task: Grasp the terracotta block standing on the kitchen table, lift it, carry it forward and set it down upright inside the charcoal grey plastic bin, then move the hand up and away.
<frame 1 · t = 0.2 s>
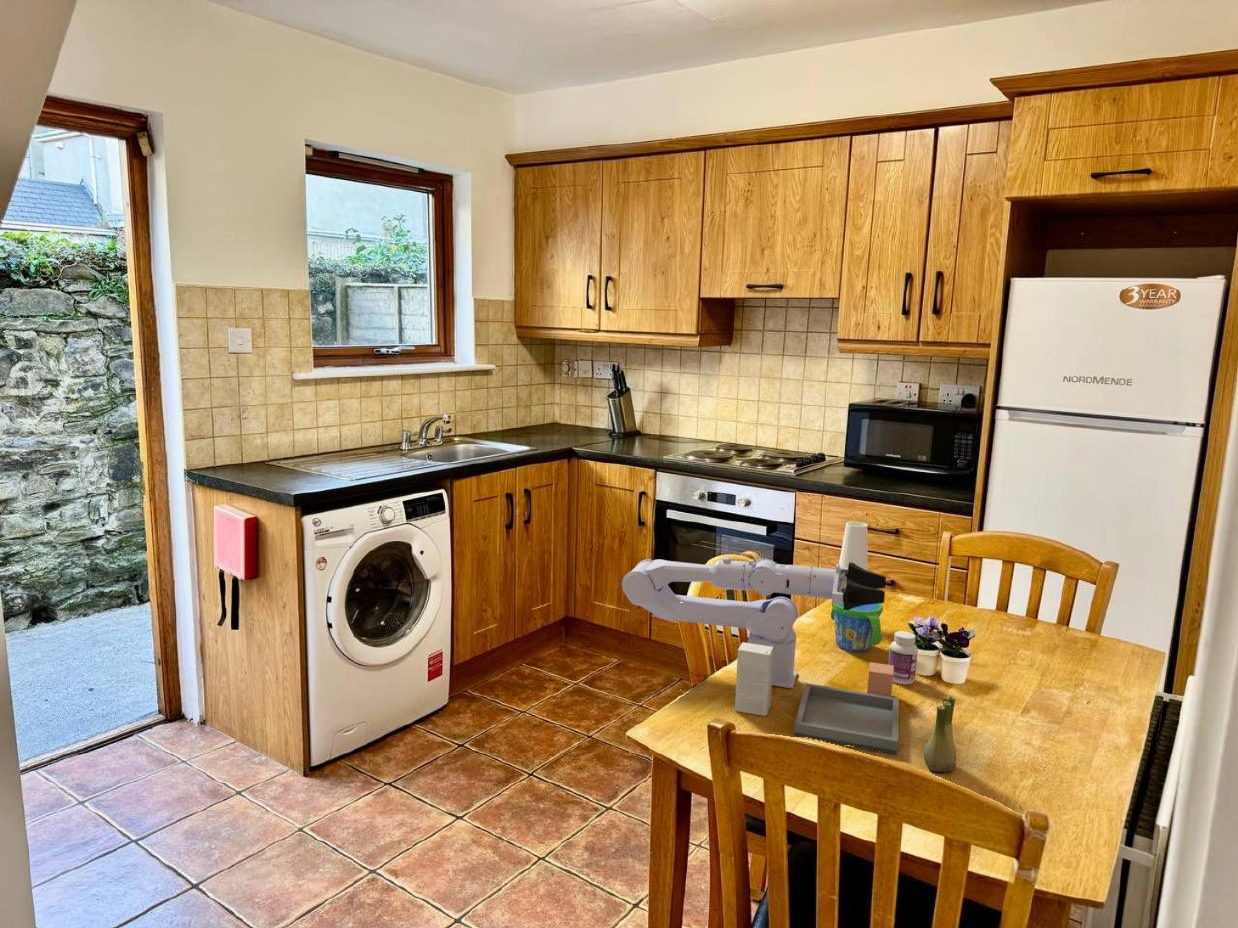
hand: (885, 589, 161), 21 cm above the table, tool horizontal, fingers open, 7 cm apart
terracotta block: (878, 697, 164), on the table
grey bin: (847, 723, 154), on the table
skincare box: (752, 710, 158), on the table
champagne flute: (848, 622, 203), on the table
fennel bulb: (938, 768, 140), on the table
snack cup: (853, 647, 188), on the table
pill bottle: (900, 680, 172), on the table
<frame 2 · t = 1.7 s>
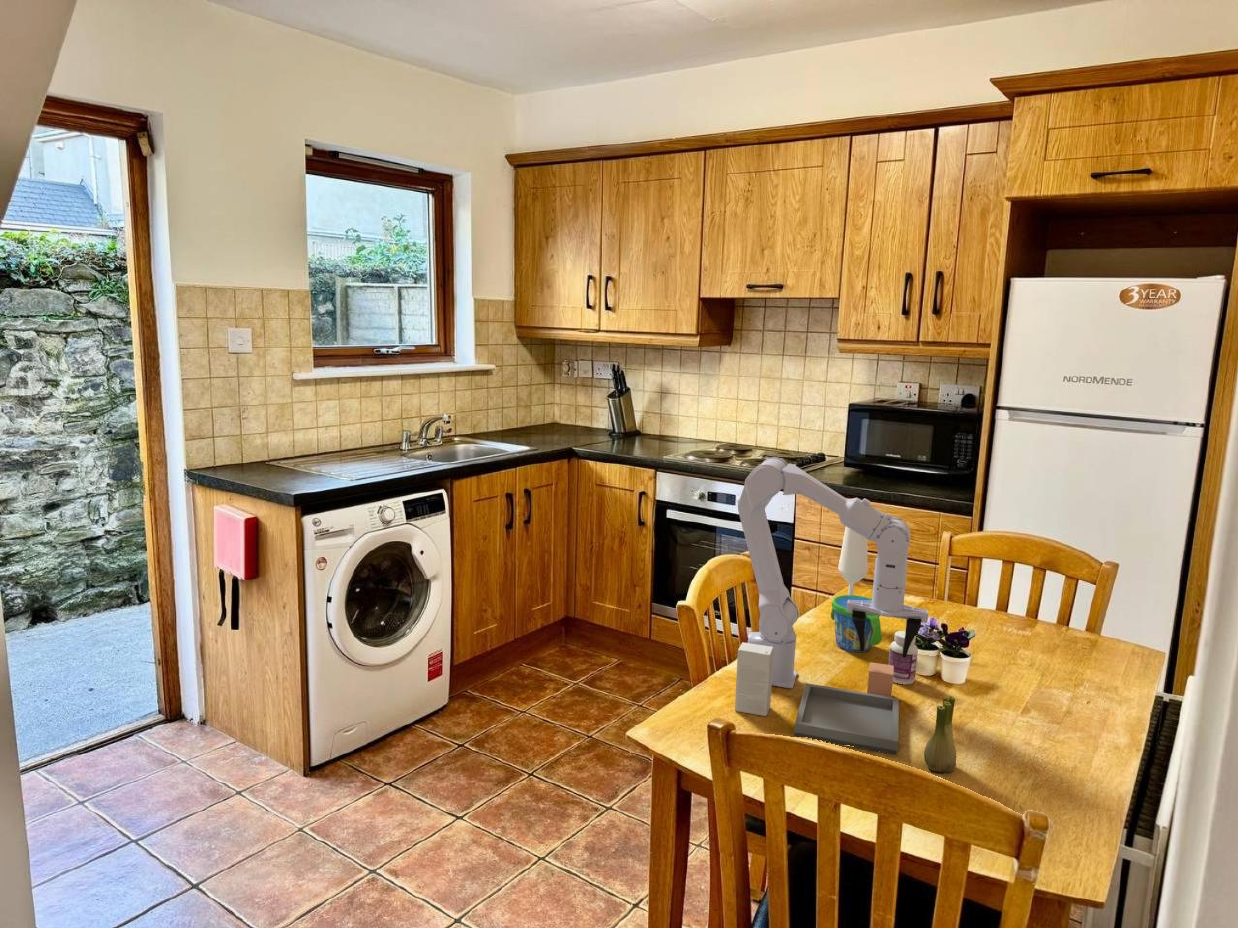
hand: (883, 652, 162), 9 cm above the table, tool pointing down, fingers open, 7 cm apart
nothing on the table moved.
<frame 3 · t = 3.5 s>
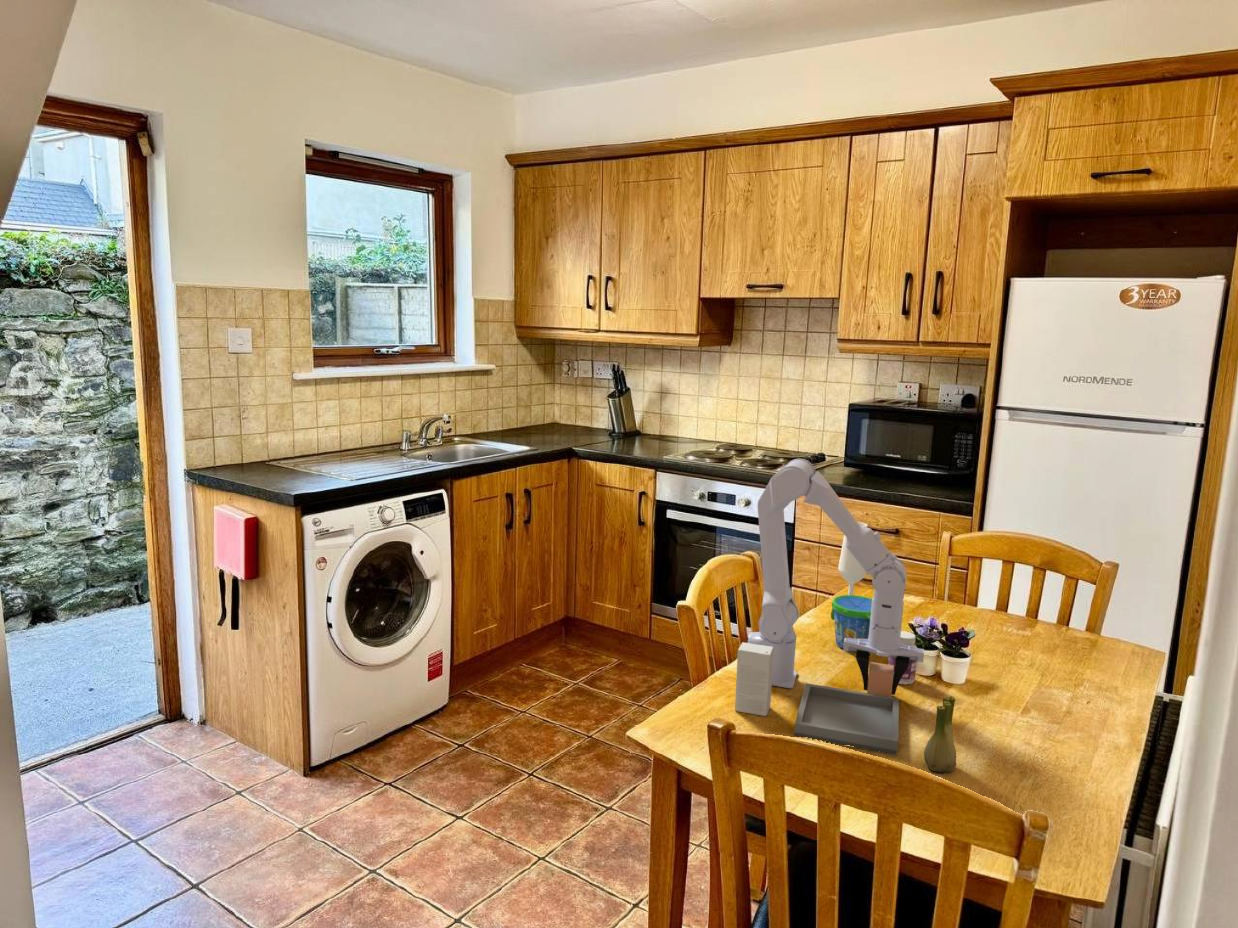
hand: (879, 690, 164), 1 cm above the table, tool pointing down, fingers closed on terracotta block, 4 cm apart
terracotta block: (878, 697, 164), on the table, touching gripper
everything else where it was.
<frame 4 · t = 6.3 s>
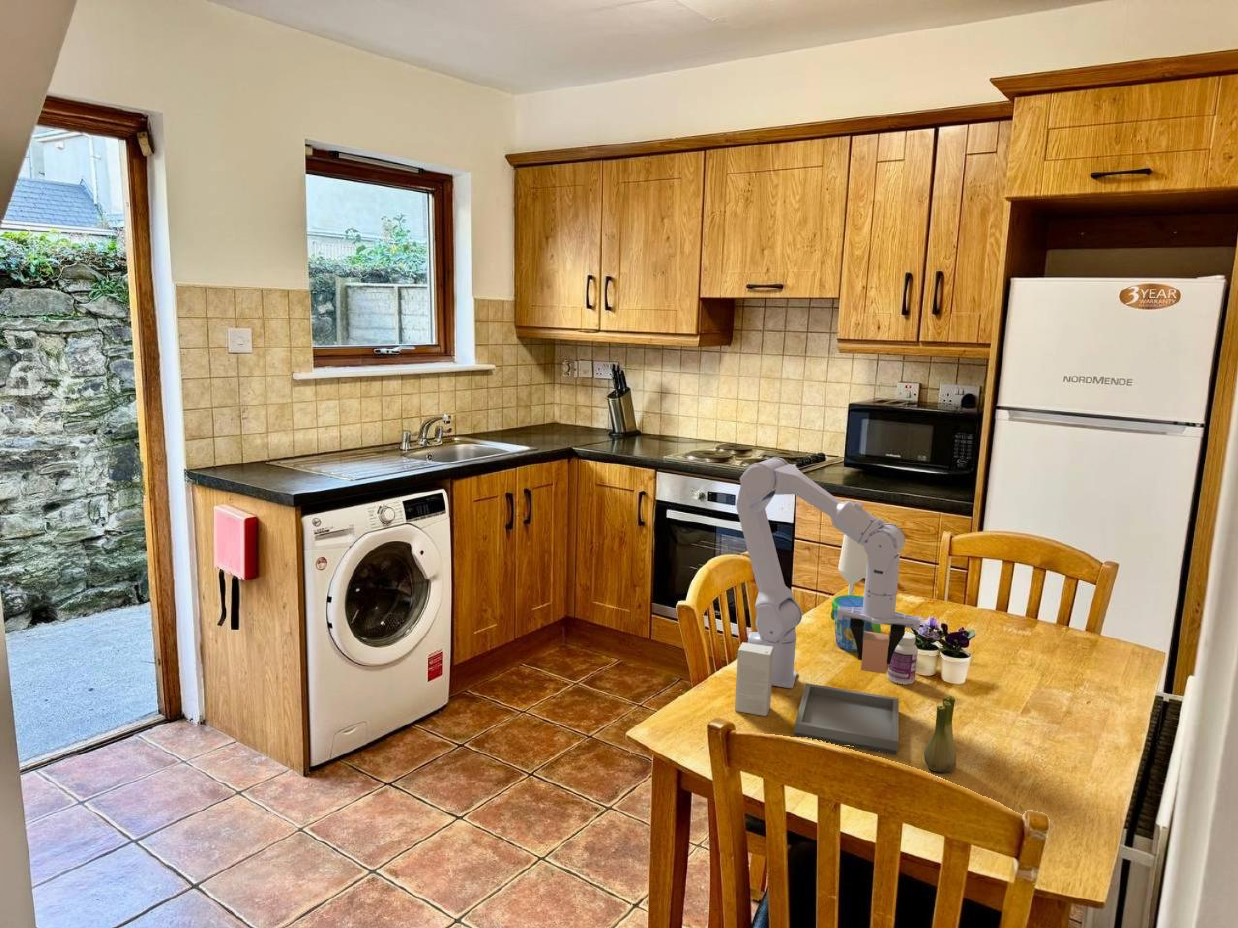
hand: (874, 660, 159), 9 cm above the table, tool pointing down, fingers closed on terracotta block, 4 cm apart
terracotta block: (873, 667, 160), point 7 cm above the table, touching gripper
everything else where it was.
when the fingers open (4 cm above the table, at t = 9.3 s): terracotta block drops 1 cm, resting on grey bin.
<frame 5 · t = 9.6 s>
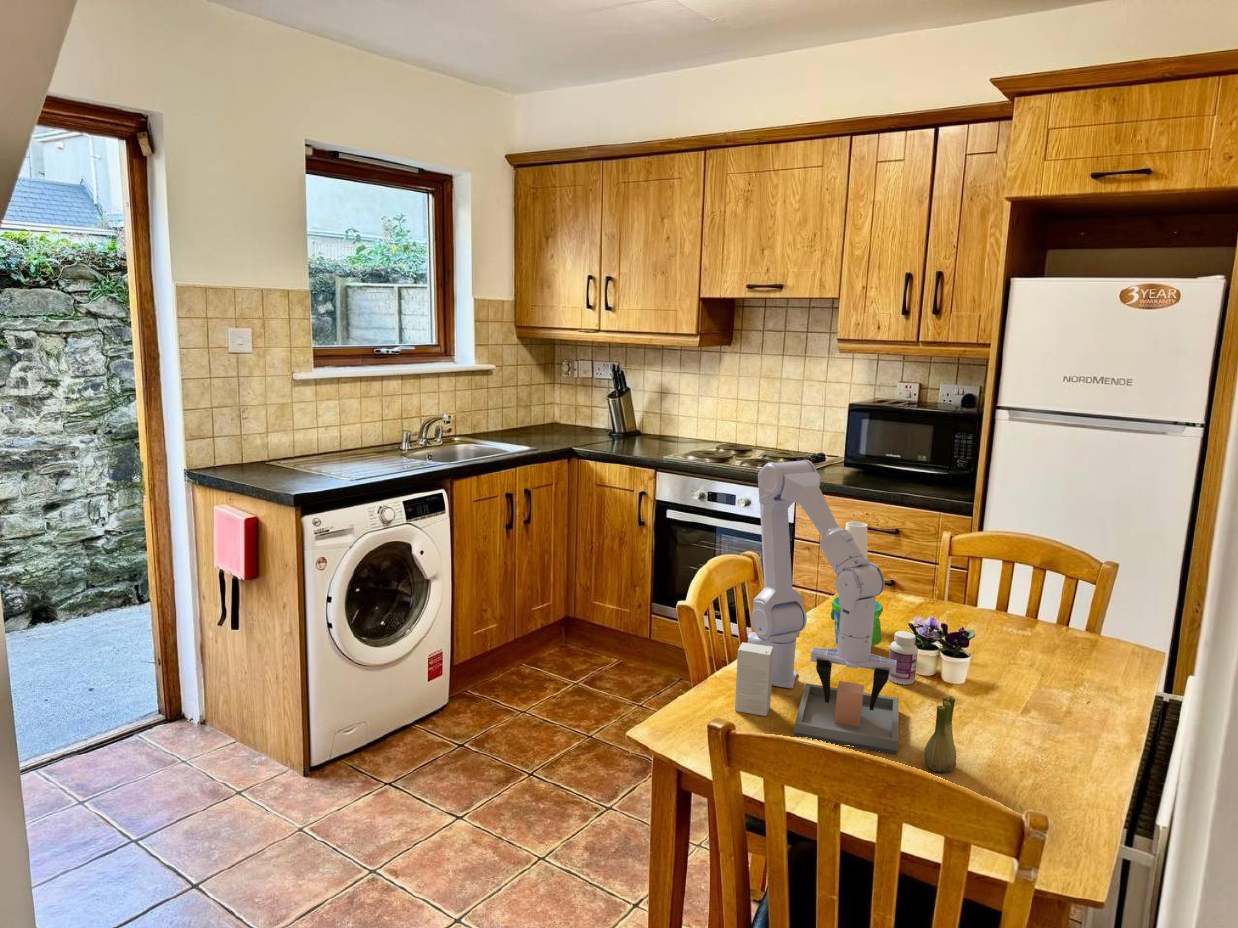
hand: (849, 703, 153), 4 cm above the table, tool pointing down, fingers open, 7 cm apart
terracotta block: (848, 718, 153), point 1 cm above the table, touching grey bin
everything else where it was.
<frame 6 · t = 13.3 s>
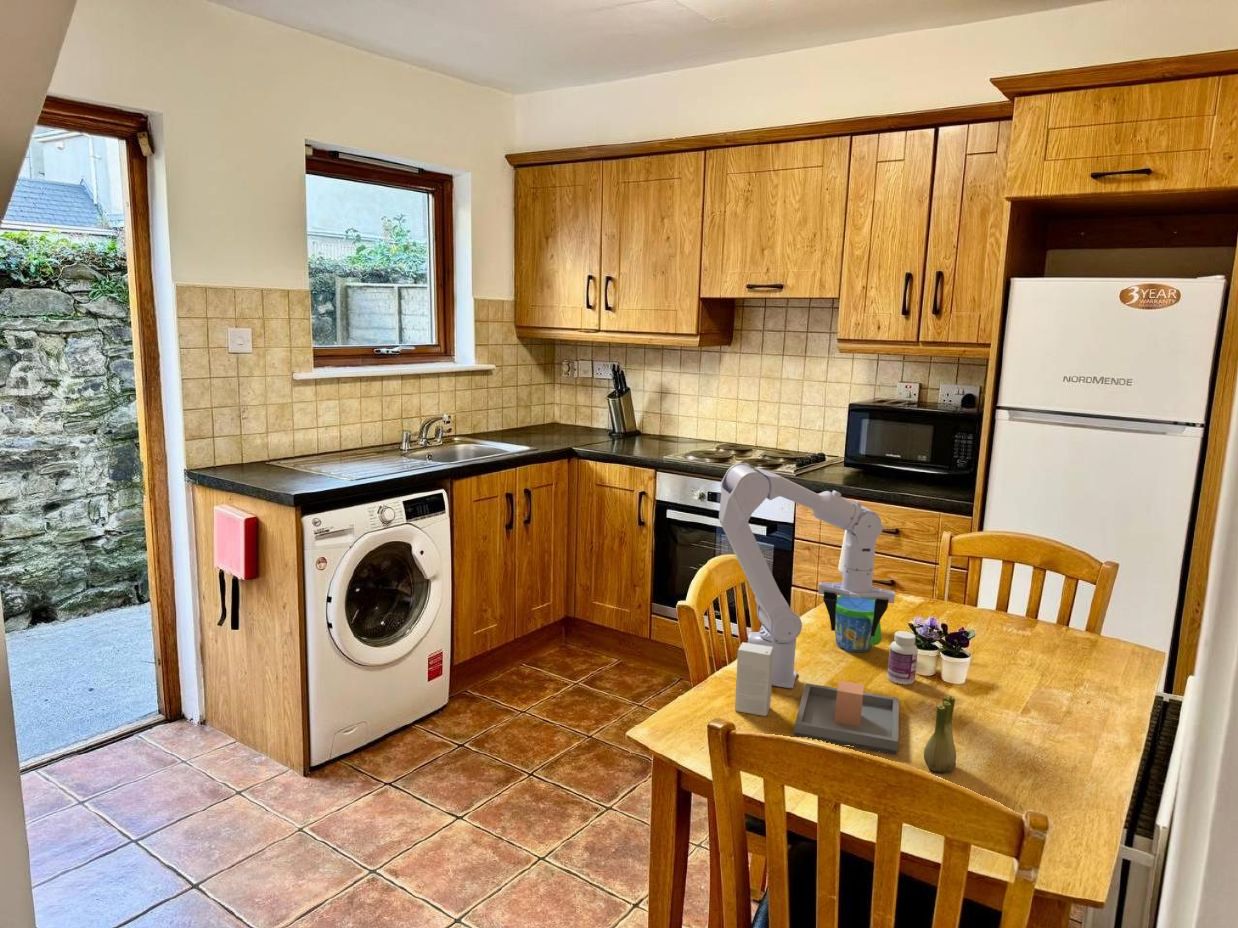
hand: (852, 631, 172), 9 cm above the table, tool pointing down, fingers open, 7 cm apart
nothing on the table moved.
at the end: terracotta block inside the target area on the grey bin (0.1 cm from its centre), point 0.8 cm above the grey bin's base; terracotta block tilted 0°; the gripper is holding nothing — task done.
